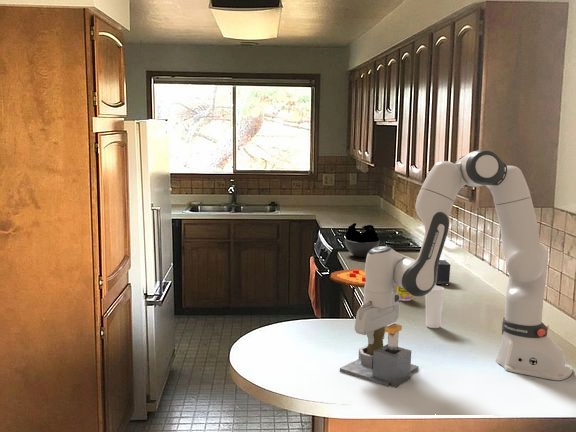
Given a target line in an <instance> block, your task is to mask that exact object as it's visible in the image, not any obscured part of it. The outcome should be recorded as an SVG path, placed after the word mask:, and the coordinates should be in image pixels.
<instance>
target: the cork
mask: <svg viewBox="0 0 576 432" xmlns="http://www.w3.org/2000/svg"><path fill="white" fill-rule="evenodd" d="M384 332H385V331H384V328H383V327H382V328H380V329H378V330H375V331H374V334H373V336H374V338H375V343H374V344H369V343H368V342H367V346H368V348H367V354H369V355H372V356H373V354H374V350H376V349H379V348H381V347H383V346H384V339H383V336H384V337H385V334H384ZM385 333H386V332H385Z"/></svg>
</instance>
